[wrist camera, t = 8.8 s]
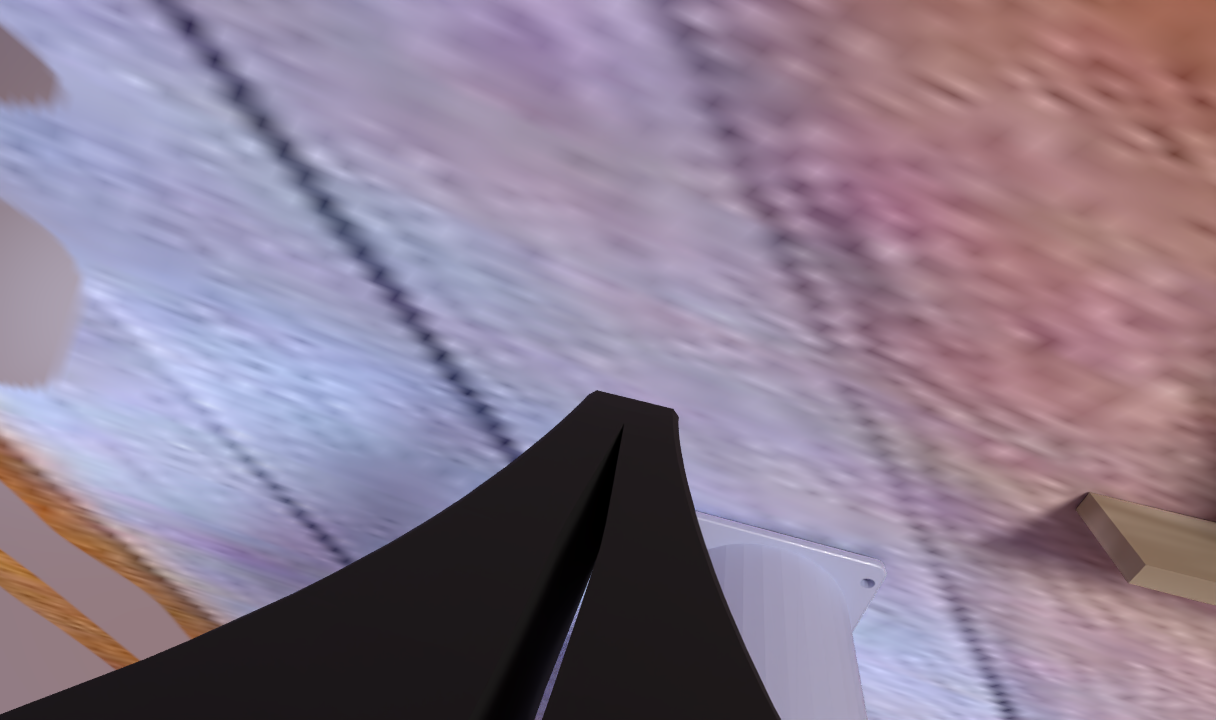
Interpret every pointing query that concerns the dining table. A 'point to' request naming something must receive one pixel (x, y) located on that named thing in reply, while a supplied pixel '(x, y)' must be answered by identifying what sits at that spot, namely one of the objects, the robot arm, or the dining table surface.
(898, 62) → the dining table surface
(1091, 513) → the tray frame
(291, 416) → the dining table surface
